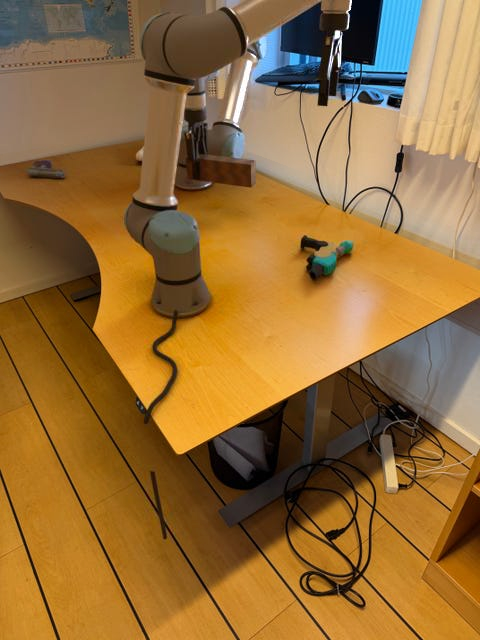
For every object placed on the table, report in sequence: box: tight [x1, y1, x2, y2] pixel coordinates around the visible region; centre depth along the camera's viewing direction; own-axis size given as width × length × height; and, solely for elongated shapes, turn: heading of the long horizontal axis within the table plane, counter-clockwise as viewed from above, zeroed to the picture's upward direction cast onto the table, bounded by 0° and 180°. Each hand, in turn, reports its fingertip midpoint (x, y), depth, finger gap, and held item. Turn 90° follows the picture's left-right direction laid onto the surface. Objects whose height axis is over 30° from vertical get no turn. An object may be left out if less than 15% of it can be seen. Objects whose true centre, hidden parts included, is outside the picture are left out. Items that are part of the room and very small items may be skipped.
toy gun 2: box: [299, 234, 355, 282], centre depth 140 cm, size 4×26×15 cm
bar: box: [185, 154, 257, 189], centre depth 165 cm, size 24×4×8 cm, turn 68°
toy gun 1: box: [26, 159, 67, 179], centre depth 208 cm, size 4×19×15 cm
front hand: (327, 100), depth 136 cm, fingers open, 13 cm apart
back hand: (199, 176), depth 170 cm, fingers closed on bar, 4 cm apart
